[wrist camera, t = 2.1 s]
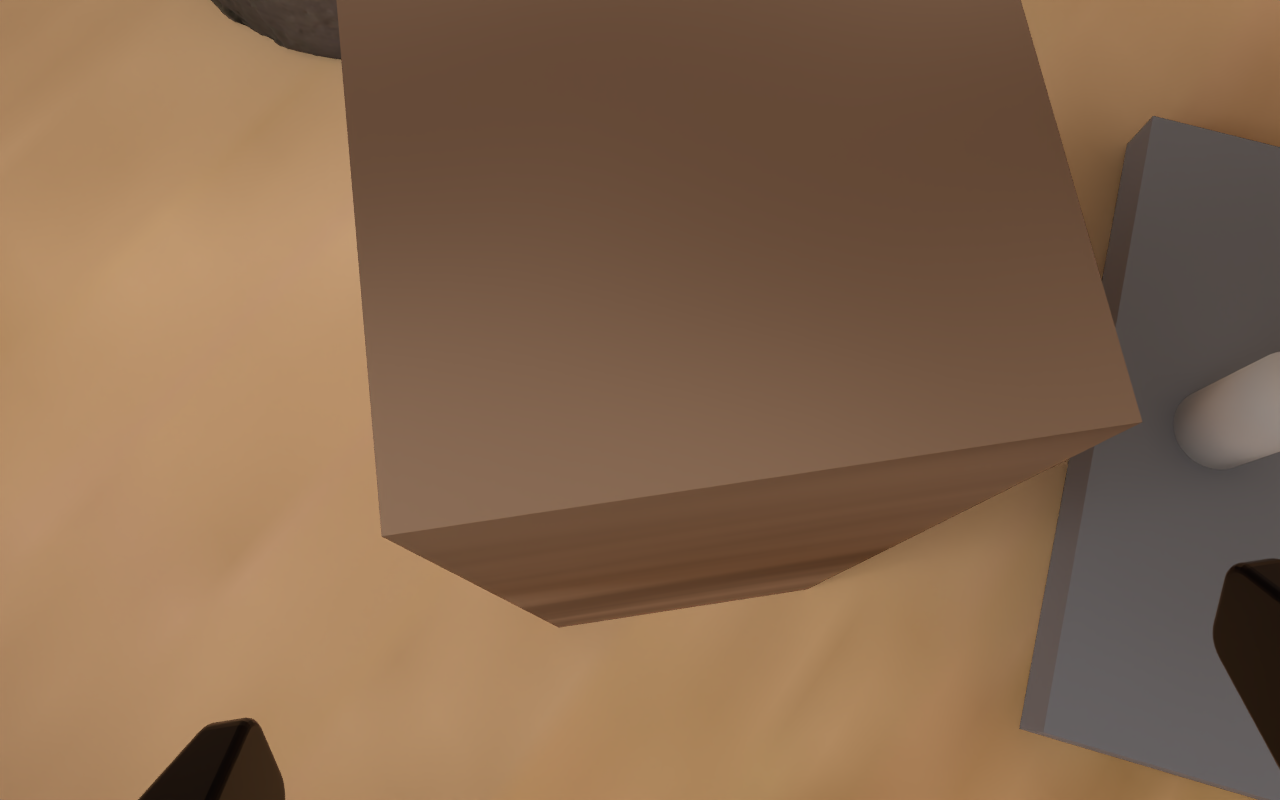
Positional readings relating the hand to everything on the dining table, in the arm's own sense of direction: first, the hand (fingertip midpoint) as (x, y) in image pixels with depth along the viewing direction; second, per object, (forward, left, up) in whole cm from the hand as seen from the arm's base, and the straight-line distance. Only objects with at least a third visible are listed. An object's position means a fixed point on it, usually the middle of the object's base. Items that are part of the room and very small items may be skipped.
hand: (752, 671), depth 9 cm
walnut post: (+3, -2, -11) cm, 11 cm away
